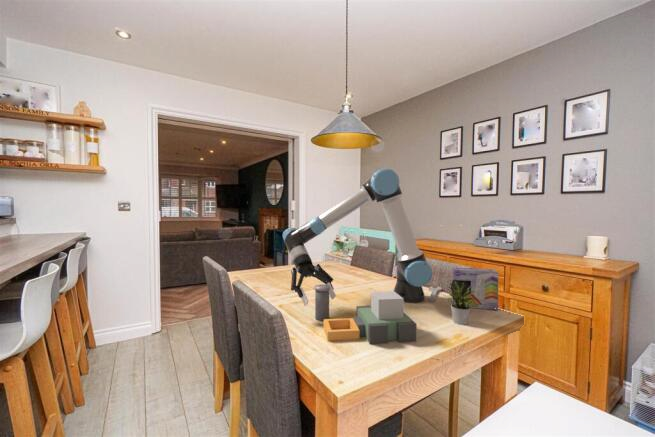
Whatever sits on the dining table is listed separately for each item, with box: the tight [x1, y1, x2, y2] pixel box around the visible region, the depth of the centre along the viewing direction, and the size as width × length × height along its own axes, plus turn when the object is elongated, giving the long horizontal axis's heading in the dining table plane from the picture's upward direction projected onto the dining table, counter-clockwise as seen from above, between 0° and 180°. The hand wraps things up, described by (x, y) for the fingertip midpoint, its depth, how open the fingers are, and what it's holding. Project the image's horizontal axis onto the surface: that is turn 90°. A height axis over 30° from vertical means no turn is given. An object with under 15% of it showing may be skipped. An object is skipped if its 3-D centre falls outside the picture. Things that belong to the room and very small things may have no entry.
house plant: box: [444, 281, 479, 326], centre depth 111 cm, size 14×14×16 cm
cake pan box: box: [450, 266, 499, 311], centre depth 128 cm, size 19×5×18 cm, turn 72°
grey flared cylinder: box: [314, 283, 330, 322], centre depth 113 cm, size 6×6×13 cm
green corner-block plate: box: [323, 290, 417, 345], centre depth 102 cm, size 30×19×13 cm, turn 98°
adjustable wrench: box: [427, 286, 443, 303], centre depth 147 cm, size 25×6×2 cm, turn 150°
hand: (320, 300), depth 113 cm, fingers open, 13 cm apart
